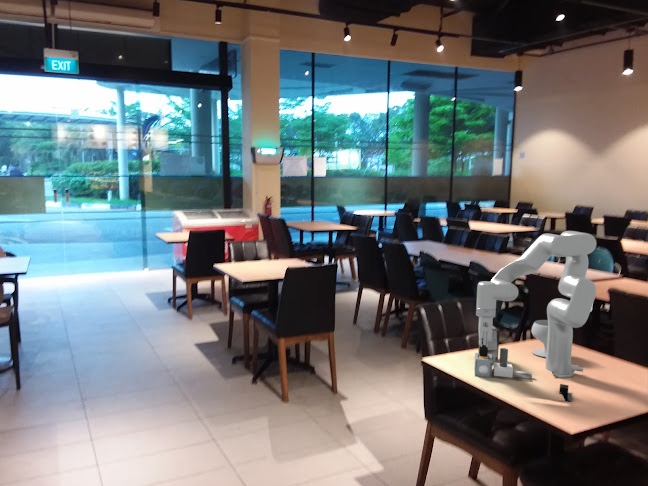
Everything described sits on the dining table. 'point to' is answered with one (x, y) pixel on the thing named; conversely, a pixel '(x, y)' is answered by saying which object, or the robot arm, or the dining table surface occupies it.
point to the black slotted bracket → (565, 393)
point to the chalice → (540, 336)
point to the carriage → (503, 365)
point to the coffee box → (493, 344)
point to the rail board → (515, 376)
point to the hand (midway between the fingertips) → (483, 355)
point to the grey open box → (483, 366)
